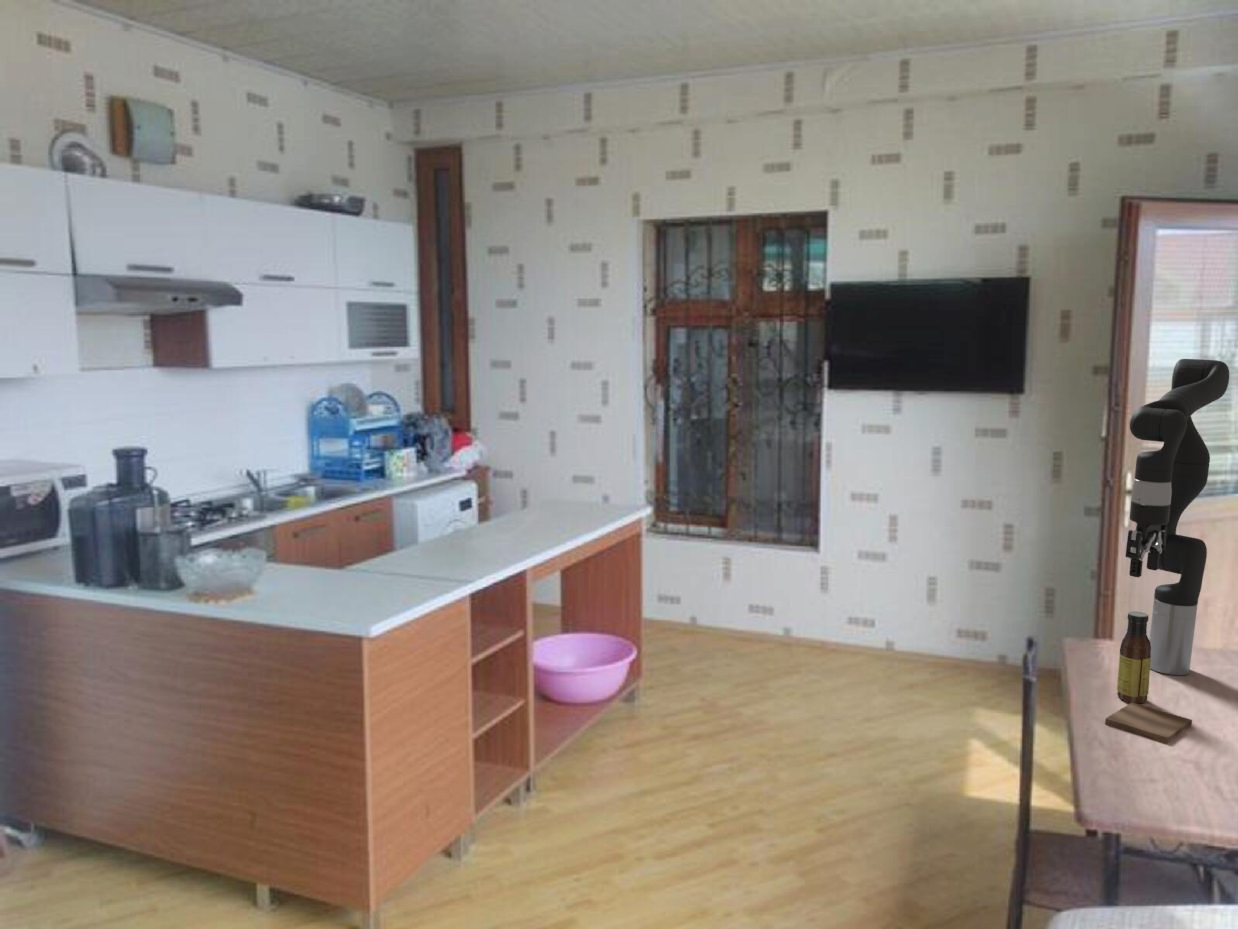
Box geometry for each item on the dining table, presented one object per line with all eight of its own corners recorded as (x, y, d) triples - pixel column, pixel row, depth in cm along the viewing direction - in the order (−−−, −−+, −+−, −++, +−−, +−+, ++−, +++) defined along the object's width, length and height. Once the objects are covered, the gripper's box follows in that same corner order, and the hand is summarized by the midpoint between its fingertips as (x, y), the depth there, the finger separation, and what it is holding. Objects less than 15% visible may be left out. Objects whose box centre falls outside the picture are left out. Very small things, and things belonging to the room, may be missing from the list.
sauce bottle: (1140, 694, 222) (1149, 610, 219) (1152, 705, 216) (1162, 618, 213) (1110, 693, 223) (1119, 608, 220) (1121, 703, 216) (1130, 617, 213)
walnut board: (1131, 707, 214) (1132, 702, 214) (1191, 725, 206) (1192, 720, 205) (1105, 724, 205) (1105, 718, 205) (1166, 743, 196) (1167, 737, 196)
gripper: (1147, 493, 219) (1140, 564, 221) (1118, 501, 210) (1111, 575, 213) (1183, 499, 213) (1175, 571, 216) (1154, 507, 204) (1147, 582, 207)
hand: (1143, 573), depth 214 cm, fingers open, 8 cm apart
